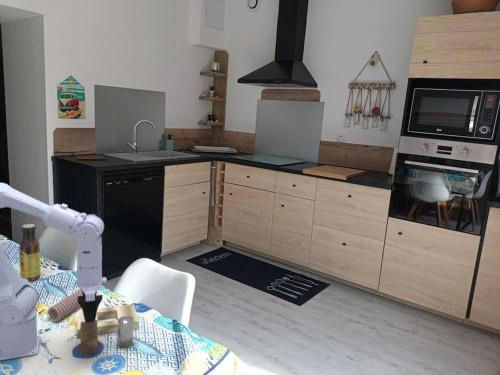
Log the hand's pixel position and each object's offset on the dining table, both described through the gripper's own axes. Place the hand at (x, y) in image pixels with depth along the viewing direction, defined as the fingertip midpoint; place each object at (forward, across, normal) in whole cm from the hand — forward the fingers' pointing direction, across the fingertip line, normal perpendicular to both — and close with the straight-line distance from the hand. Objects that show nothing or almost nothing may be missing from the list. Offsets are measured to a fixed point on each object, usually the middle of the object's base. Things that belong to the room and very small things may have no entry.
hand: (89, 313), depth 97 cm
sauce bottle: (+10, +48, +19) cm, 52 cm away
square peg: (+10, -1, 0) cm, 10 cm away
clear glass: (+10, -1, -9) cm, 13 cm away
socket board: (+10, +10, -5) cm, 15 cm away
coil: (+10, +23, +4) cm, 25 cm away
